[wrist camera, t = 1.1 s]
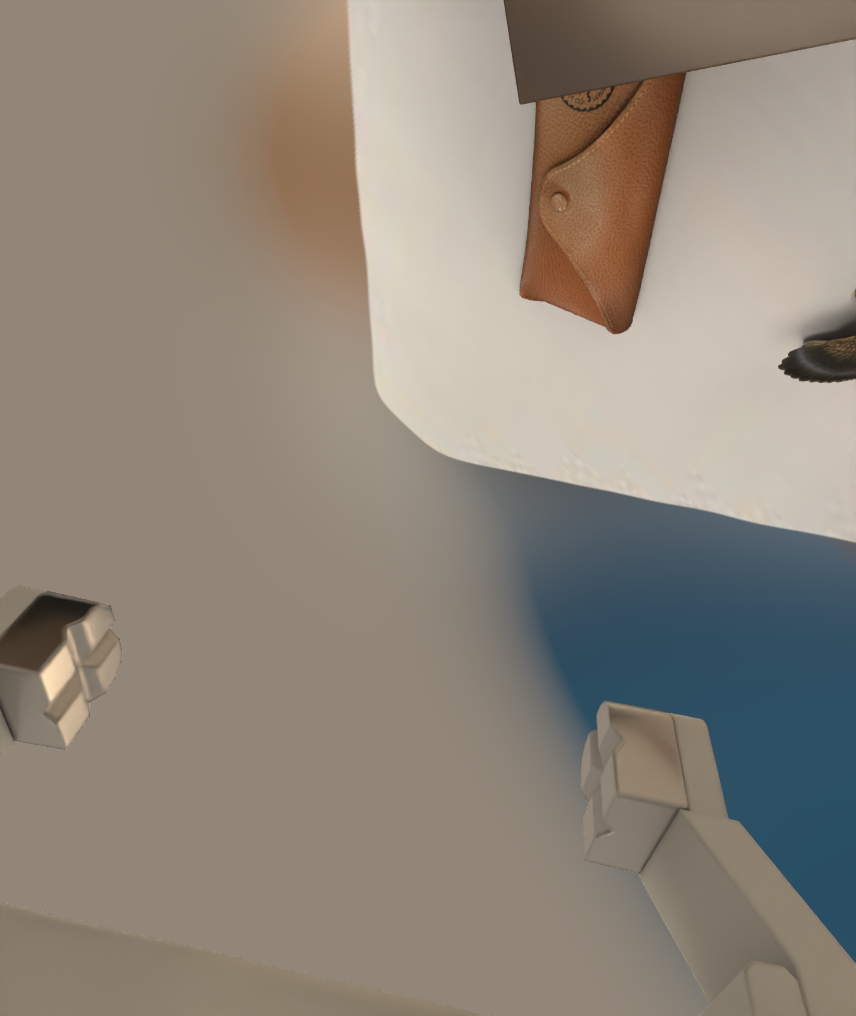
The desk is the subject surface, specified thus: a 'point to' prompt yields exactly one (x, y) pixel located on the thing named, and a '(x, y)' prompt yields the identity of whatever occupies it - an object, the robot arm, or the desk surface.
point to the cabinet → (657, 38)
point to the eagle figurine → (822, 361)
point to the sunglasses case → (597, 196)
